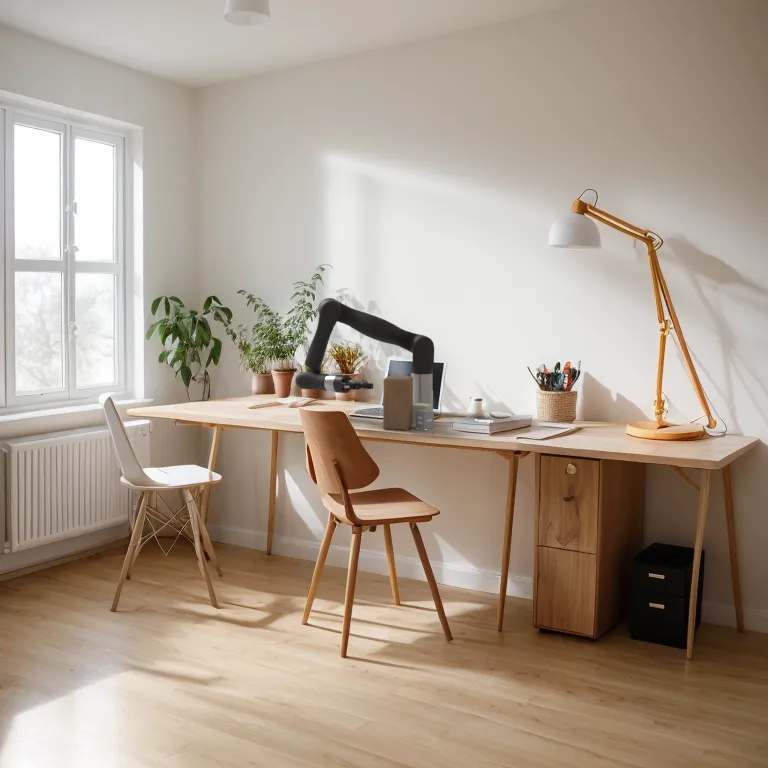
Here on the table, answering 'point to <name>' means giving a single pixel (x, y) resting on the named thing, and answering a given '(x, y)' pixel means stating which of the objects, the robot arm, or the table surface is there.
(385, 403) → the block
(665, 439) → the table surface
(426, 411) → the slate block
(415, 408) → the sage block
